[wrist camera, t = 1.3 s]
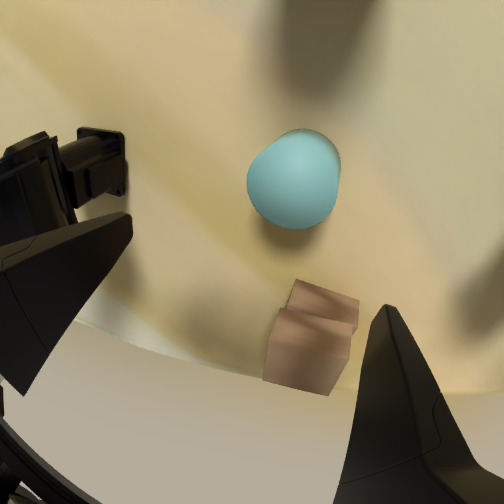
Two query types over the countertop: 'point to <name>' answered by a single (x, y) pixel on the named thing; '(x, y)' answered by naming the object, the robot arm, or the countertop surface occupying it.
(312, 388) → the stepped brown block
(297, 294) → the bottom slab
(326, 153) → the teal rounded cylinder
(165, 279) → the countertop surface
